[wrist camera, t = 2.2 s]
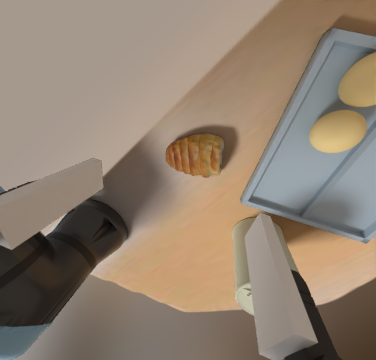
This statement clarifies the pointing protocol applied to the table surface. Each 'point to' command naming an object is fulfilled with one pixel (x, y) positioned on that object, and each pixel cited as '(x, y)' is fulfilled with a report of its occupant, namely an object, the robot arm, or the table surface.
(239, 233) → the can
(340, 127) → the ball
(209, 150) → the pastry
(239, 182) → the table surface
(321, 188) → the sorting tray
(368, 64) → the ball
